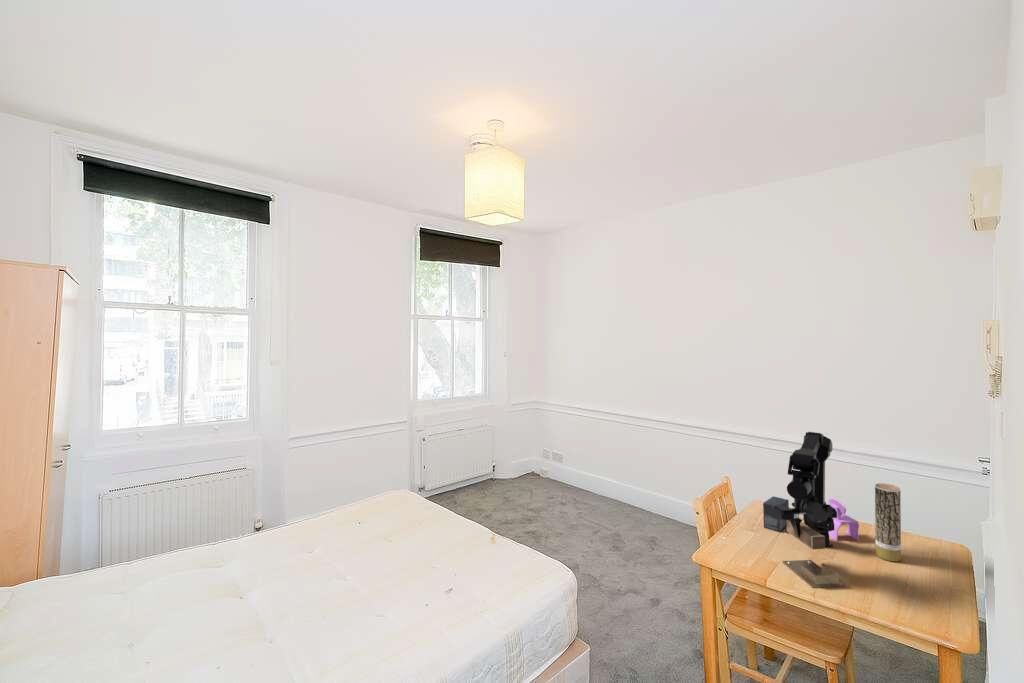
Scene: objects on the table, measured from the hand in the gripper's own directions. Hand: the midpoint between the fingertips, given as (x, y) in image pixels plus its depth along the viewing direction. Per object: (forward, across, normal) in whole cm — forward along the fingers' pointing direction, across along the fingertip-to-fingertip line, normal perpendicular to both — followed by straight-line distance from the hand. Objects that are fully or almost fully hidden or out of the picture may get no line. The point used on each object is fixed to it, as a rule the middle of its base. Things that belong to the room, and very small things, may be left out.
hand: (804, 536), depth 150 cm
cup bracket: (+11, 0, -3) cm, 11 cm away
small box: (+11, +10, +32) cm, 35 cm away
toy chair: (+11, +29, +21) cm, 37 cm away
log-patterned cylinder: (+11, +33, +5) cm, 35 cm away
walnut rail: (+1, 0, 0) cm, 1 cm away
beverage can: (+11, +27, +37) cm, 47 cm away
